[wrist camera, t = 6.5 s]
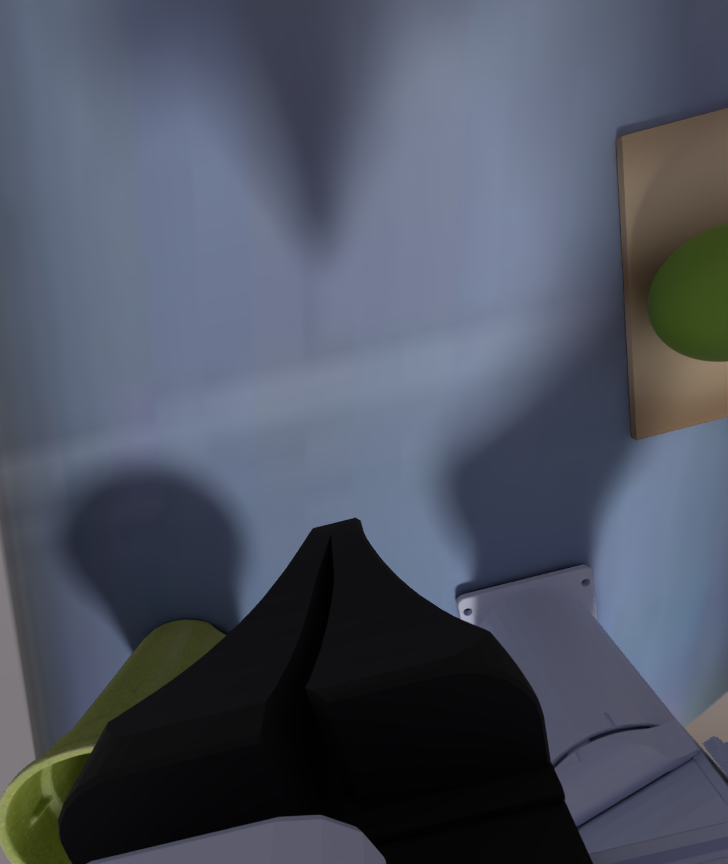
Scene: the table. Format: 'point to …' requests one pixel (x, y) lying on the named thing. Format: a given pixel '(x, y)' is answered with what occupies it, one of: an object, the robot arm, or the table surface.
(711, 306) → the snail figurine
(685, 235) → the cork mat
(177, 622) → the plant pot
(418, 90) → the table surface
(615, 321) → the table surface
